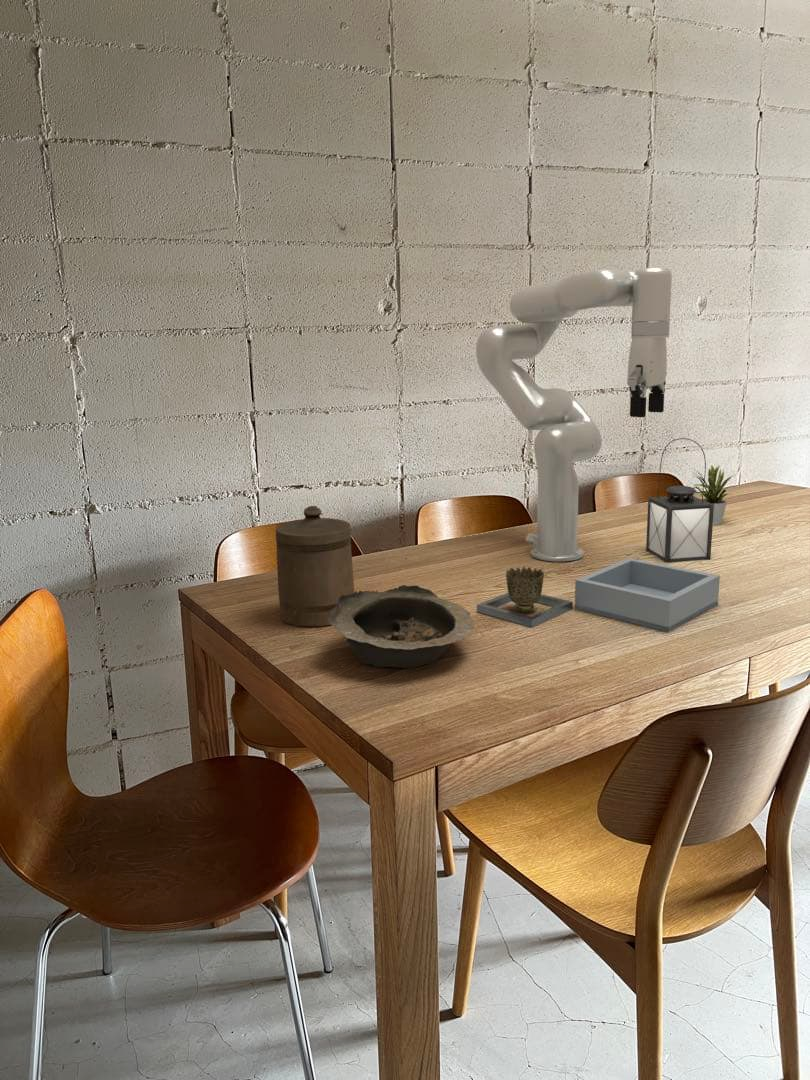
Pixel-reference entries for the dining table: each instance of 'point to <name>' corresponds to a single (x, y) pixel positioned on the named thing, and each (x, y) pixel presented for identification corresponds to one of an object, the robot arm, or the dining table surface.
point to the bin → (647, 593)
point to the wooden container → (313, 567)
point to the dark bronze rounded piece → (524, 587)
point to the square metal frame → (557, 609)
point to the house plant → (714, 493)
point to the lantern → (679, 524)
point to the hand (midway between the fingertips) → (646, 414)
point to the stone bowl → (399, 625)
